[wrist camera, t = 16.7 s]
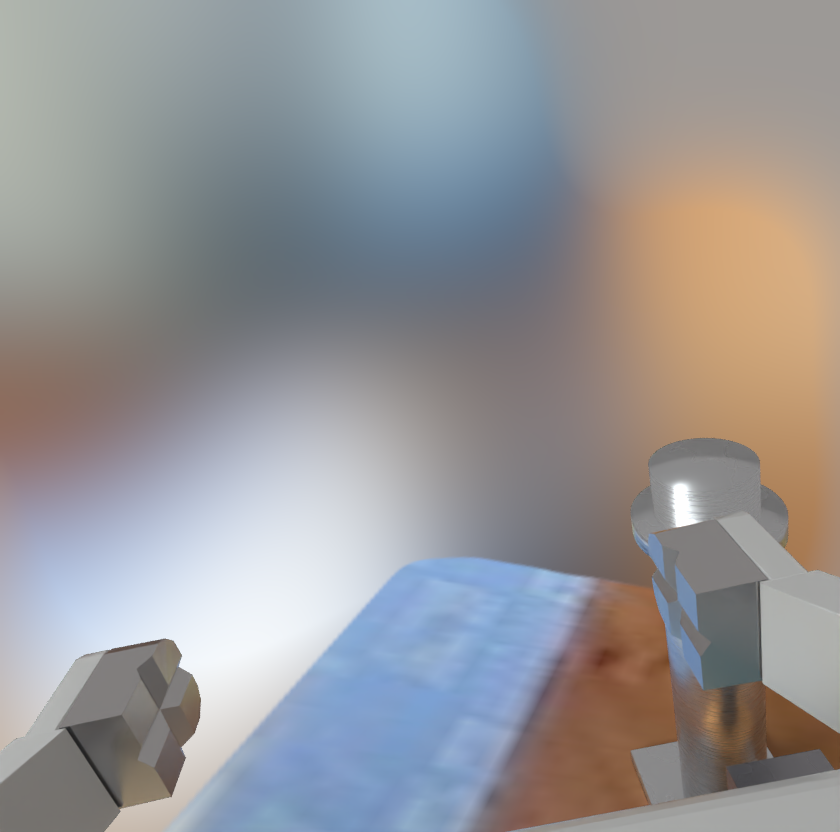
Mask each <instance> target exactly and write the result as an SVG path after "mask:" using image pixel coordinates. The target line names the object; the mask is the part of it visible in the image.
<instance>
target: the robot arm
mask: <svg viewBox="0 0 840 832" xmlns="http://www.w3.org/2000/svg"><path fill="white" fill-rule="evenodd" d="M648 546H649V555H650V556H651V558H652V560H653V561H654V563H655V564H656V566H657V569H656V571H655V573H654V574H653V576H652V581H653V588H654V594H655V597H656V601H657V604H658V608H659V611H660V613H661V616H662V618H663V620H664V623H665V624H666V626H667V628H668V630H669V632H670V633H671V635H673V636H674V637H676V638H678V639H680V640H682V646H683V656H684V658H685V660H686V661H687V663H688V665H689V666H690V668H691V670H692V672H693V673H694V675H695V677H696V678H697V680H698V682H699V684H700V685H701V687H702V689H703V690H710V689H716V688H721V687H727V686H733V685H739V684H745V683H751V682H757V681H762V683H763V684H764V685H766V686H767V687H769V688H770V689H772V690H773V691H775V692H777V693H778V694H780V695H781V696H783V697H784V698H786V699H787V700H789V701H790V702H792V703H793V704H795V705H797V706H798V707H800V708H801V709H803V710H804V711H806V712H807V713H809V714H810V715H812V716H813V717H815V718H816V719H818V720H820V721H821V722H823V723H824V724H826V725H827V726H829V727H830V728H832V729H833V730H835V731H836V732H838V733H840V578H839V577H836V576H834V575H831V574H828V573H825V572H822V571H820V570H815V571H810V572H808V571H807V570H806V569H804V567H803V566H802V565H801V564H800V563H798V562H797V561H796V560H795V559H794V558H793V557H792V556H791V555H790V554H789V553H788V552H787V551H786V550H785V549H784V548H783V547H782V546H781V545H780V544H779V543H778V542H777V541H776V540H775V539H774V538H773V537H772V536H771V535H770V534H769V533H768V532H767V531H766V530H765V529H764V528H763V527H762V526H761V525H760V524H759V523H758V522H757V521H756V520H755V519H754V518H753V517H752V516H751V515H750V514H749V513H747V512H744V511H740V512H736V513H732V514H728V515H724V516H720V517H716V518H711V520H707V521H703V522H698V523H694V524H690V525H685V526H681V527H676V528H672V529H667V530H663V531H658V532H654V533H649V538H648ZM181 657H182V655H181V653H180V651H179V649H178V648H177V646H176V644H175V643H174V641H172V640H168V639H161V640H155V641H150V642H145V643H140V644H135V645H130V646H125V647H119V648H114V649H111V650H105V651H101V652H96V653H91V654H86V655H84V656H82V657H80V658H79V659H77V660H75V662H74V663H73V665H72V666H71V668H70V669H69V671H68V673H67V674H66V675H65V677H64V679H63V680H62V681H61V683H60V684H59V686H58V687H57V689H56V691H55V692H54V694H53V695H52V697H51V698H50V700H49V701H48V703H47V704H46V706H45V707H44V709H43V710H42V712H41V713H40V715H39V716H38V718H37V719H36V721H35V722H34V724H33V726H32V727H31V728H30V730H29V731H28V733H27V734H26V736H25V737H21V738H16V739H15V740H14V741H12V742H11V743H10V744H9V745H7V746H6V747H5V748H4V749H3V750H1V751H0V832H104V831H105V830H106V829H107V828H108V827H109V825H110V824H111V823H112V822H113V820H114V819H115V818H116V817H117V815H118V814H119V813H120V809H121V808H126V807H130V806H134V805H139V804H143V803H147V802H151V801H156V800H160V799H164V798H169V797H172V794H173V791H174V788H175V786H176V783H177V780H178V778H179V775H180V772H181V769H182V767H183V764H184V761H185V758H186V757H185V755H184V753H183V750H182V748H181V747H182V746H183V745H184V744H185V743H186V742H187V741H188V740H189V739H190V738H191V737H192V735H193V734H194V733H195V730H196V728H197V725H198V722H199V719H200V703H201V698H200V694H199V690H198V685H197V683H196V682H195V679H194V677H193V676H192V674H190V673H188V672H187V671H185V670H183V669H181V668H180V667H179V663H180V660H181ZM509 832H840V769H838V770H833V771H828V772H822V773H817V774H812V775H806V776H801V777H796V778H790V779H785V780H780V781H774V782H769V783H764V784H759V785H753V786H748V787H743V788H737V789H732V790H727V791H721V792H716V793H711V794H706V795H700V796H695V797H690V798H684V799H679V800H674V801H668V802H663V803H658V804H652V805H647V806H642V807H636V808H631V809H626V810H621V811H615V812H610V813H605V814H599V815H594V816H589V817H583V818H578V819H573V820H567V821H562V822H557V823H551V824H546V825H541V826H536V827H530V828H525V829H520V830H514V831H509Z"/></svg>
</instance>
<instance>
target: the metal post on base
mask: <svg viewBox="0 0 840 832" xmlns="http://www.w3.org/2000/svg"><path fill="white" fill-rule="evenodd" d="M648 466H649V476H650V484H651V485H650V486H648V487H647V488H645V489H644V490H643V491H641V492H640V493H639V495H637V497H636V498H635V499H634V501H633V504H632V506H631V521H632V529H633V535H634V538H635V540H636V542H637V544H638V545H639V547H640V548H641V549H642V550H643V551H644V552H645V553H646V554H648V555H649V546H648V538H649V533H654V532H658V531H663V530H667V529H672V528H676V527H681V526H685V525H690V524H694V523H698V522H703V521H707V520H711V518H716V517H720V516H724V515H728V514H732V513H736V512H740V511H744V512H747V513H749V514H750V515H751V516H752V517H753V518H754V519H755V520H756V521H757V522H758V523H759V524H760V525H761V526H762V527H763V528H764V529H765V530H766V531H767V532H768V533H769V534H770V535H771V536H772V537H773V538H774V539H775V540H776V541H777V542H778V543H779V544H780V545H781V546H782V547H783V548H785V546H786V543H787V540H788V511H787V508H786V506H785V504H784V502H783V501H782V499H781V498H780V497H779V496H778V495H777V494H776V493H774V492H773V491H771V490H770V489H769V488H767V487H765V486H763V485H761V484H760V460H759V458H758V456H757V455H756V454H755V452H754V451H752V450H751V449H749V448H748V447H746V446H744V445H742V444H739V443H736V442H733V441H729V440H723V439H715V438H696V439H687V440H682V441H678V442H674V443H671V444H668V445H666V446H664V447H662V448H660V449H659V450H657V451H656V452H655V453H654V454H653V455H652V456H651V457H650V459H649V463H648ZM649 556H650V555H649ZM650 557H651V556H650ZM665 626H666V624H665ZM666 636H667V645H668V655H669V664H670V674H671V683H672V692H673V702H674V711H675V721H676V730H677V740H678V741H677V742H672V743H667V744H662V745H657V746H651V747H646V748H641V749H636V750H631V757H632V762H633V765H634V767H635V770H636V772H637V775H638V777H639V780H640V783H641V785H642V788H643V790H644V793H645V796H646V798H647V801H648V803H649V805H652V804H658V803H663V802H668V801H674V800H679V799H684V798H690V797H695V796H700V795H706V794H711V793H716V792H721V791H727V790H728V788H727V772H726V767H727V766H732V765H738V764H743V763H748V762H753V761H759V760H764V759H769V758H774V757H773V756H772V754H771V753H770V751H769V749H768V748H767V738H766V696H765V685H764V684H763V683H762V681H757V682H751V683H745V684H739V685H733V686H727V687H721V688H716V689H710V690H703V689H702V687H701V685H700V684H699V682H698V680H697V678H696V677H695V675H694V673H693V672H692V670H691V668H690V666H689V665H688V663H687V661H686V660H685V658H684V656H683V646H682V640H680V639H678V638H676V637H674V636H673V635H671V633H670V632H669V630H668V628H667V626H666Z"/></svg>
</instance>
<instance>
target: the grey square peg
mask: <svg viewBox="0 0 840 832" xmlns="http://www.w3.org/2000/svg"><path fill="white" fill-rule="evenodd" d="M833 770H834V769H833V767H832V766H831V764H830V763H829V762H828V760H827V759H826V757H825V756H824V755H823V753H822V752H821V750H820V749H817V750H812V751H806V752H801V753H796V754H790V755H785V756H780V757H775V758H769V759H764V760H759V761H753V762H748V763H743V764H738V765H732V766H727V767H726V772H727V788H728V790H732V789H737V788H743V787H748V786H753V785H759V784H764V783H769V782H774V781H780V780H785V779H790V778H796V777H801V776H806V775H812V774H817V773H822V772H828V771H833Z"/></svg>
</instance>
